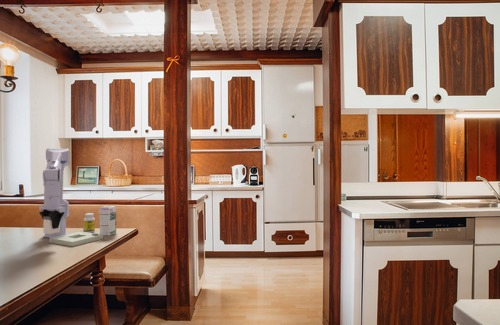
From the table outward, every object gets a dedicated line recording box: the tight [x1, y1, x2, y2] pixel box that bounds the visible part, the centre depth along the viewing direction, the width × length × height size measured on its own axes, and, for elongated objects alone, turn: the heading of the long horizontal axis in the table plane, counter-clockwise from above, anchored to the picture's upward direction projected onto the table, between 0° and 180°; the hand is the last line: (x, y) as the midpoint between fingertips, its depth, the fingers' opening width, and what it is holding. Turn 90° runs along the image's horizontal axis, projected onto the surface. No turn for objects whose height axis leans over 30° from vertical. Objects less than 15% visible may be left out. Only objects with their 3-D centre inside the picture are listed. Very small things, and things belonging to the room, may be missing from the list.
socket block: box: [49, 231, 104, 247], centre depth 150 cm, size 16×16×3 cm
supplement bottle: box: [82, 212, 96, 233], centre depth 168 cm, size 5×5×10 cm
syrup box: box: [99, 205, 117, 236], centre depth 164 cm, size 6×6×14 cm
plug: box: [42, 216, 60, 234], centre depth 136 cm, size 4×4×7 cm
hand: (51, 227), depth 136 cm, fingers closed on plug, 4 cm apart
